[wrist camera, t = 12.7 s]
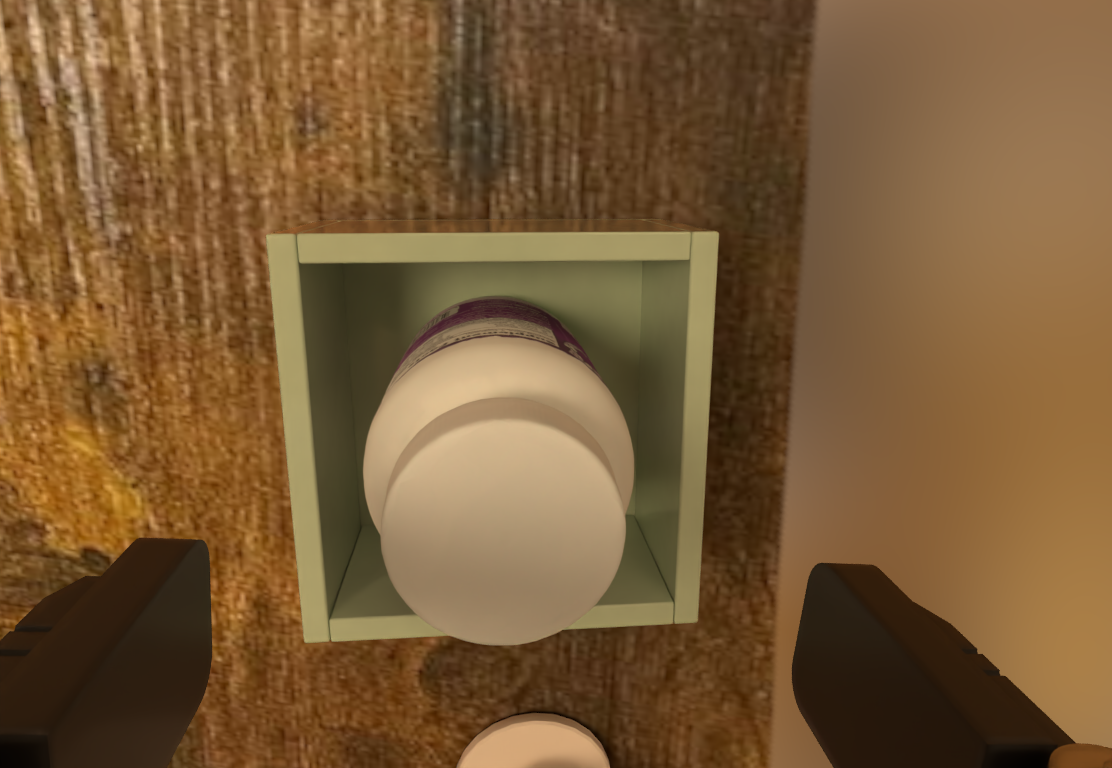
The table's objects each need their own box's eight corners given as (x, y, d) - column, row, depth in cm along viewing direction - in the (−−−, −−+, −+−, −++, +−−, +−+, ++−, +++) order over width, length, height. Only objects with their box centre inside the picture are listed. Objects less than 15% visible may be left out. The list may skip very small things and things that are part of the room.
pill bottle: (599, 460, 22) (684, 660, 13) (417, 489, 22) (371, 714, 13) (576, 276, 21) (654, 355, 12) (381, 305, 21) (301, 407, 11)
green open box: (345, 535, 23) (303, 644, 18) (321, 219, 21) (264, 233, 15) (649, 523, 24) (698, 623, 18) (660, 218, 21) (720, 231, 16)
